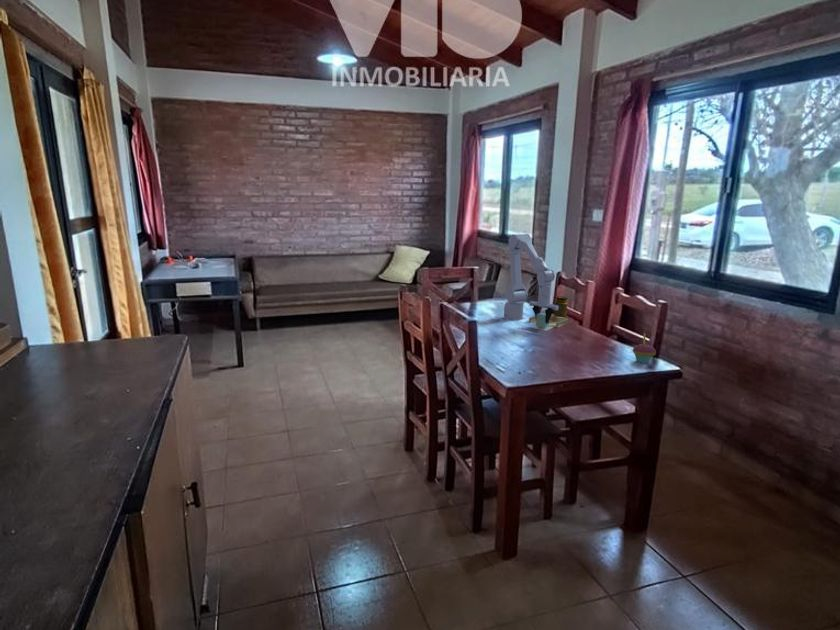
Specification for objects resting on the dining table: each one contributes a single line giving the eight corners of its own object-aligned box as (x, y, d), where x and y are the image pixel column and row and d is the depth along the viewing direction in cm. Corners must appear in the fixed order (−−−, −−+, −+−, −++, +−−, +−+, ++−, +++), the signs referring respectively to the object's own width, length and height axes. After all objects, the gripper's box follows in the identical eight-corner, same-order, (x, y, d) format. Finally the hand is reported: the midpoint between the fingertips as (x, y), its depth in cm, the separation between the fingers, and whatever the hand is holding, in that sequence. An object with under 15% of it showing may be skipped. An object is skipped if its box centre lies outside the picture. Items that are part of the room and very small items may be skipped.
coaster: (530, 328, 251) (530, 327, 251) (538, 325, 257) (538, 324, 257) (545, 331, 246) (545, 330, 246) (553, 328, 252) (553, 327, 252)
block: (535, 326, 251) (536, 314, 250) (540, 324, 255) (541, 312, 253) (544, 327, 249) (545, 315, 247) (548, 326, 252) (549, 314, 250)
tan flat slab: (529, 323, 262) (529, 317, 261) (540, 318, 271) (540, 313, 270) (558, 328, 252) (558, 323, 251) (568, 324, 261) (569, 318, 260)
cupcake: (628, 358, 210) (631, 329, 207) (649, 358, 210) (653, 330, 207) (636, 365, 202) (639, 335, 199) (658, 365, 202) (662, 336, 199)
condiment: (569, 319, 270) (571, 297, 267) (560, 322, 264) (562, 299, 261) (557, 317, 275) (558, 295, 272) (548, 319, 269) (550, 297, 266)
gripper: (562, 295, 246) (560, 323, 249) (535, 291, 255) (533, 318, 259) (555, 298, 241) (553, 326, 244) (527, 293, 250) (526, 320, 253)
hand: (542, 322), depth 251 cm, fingers closed on block, 4 cm apart
